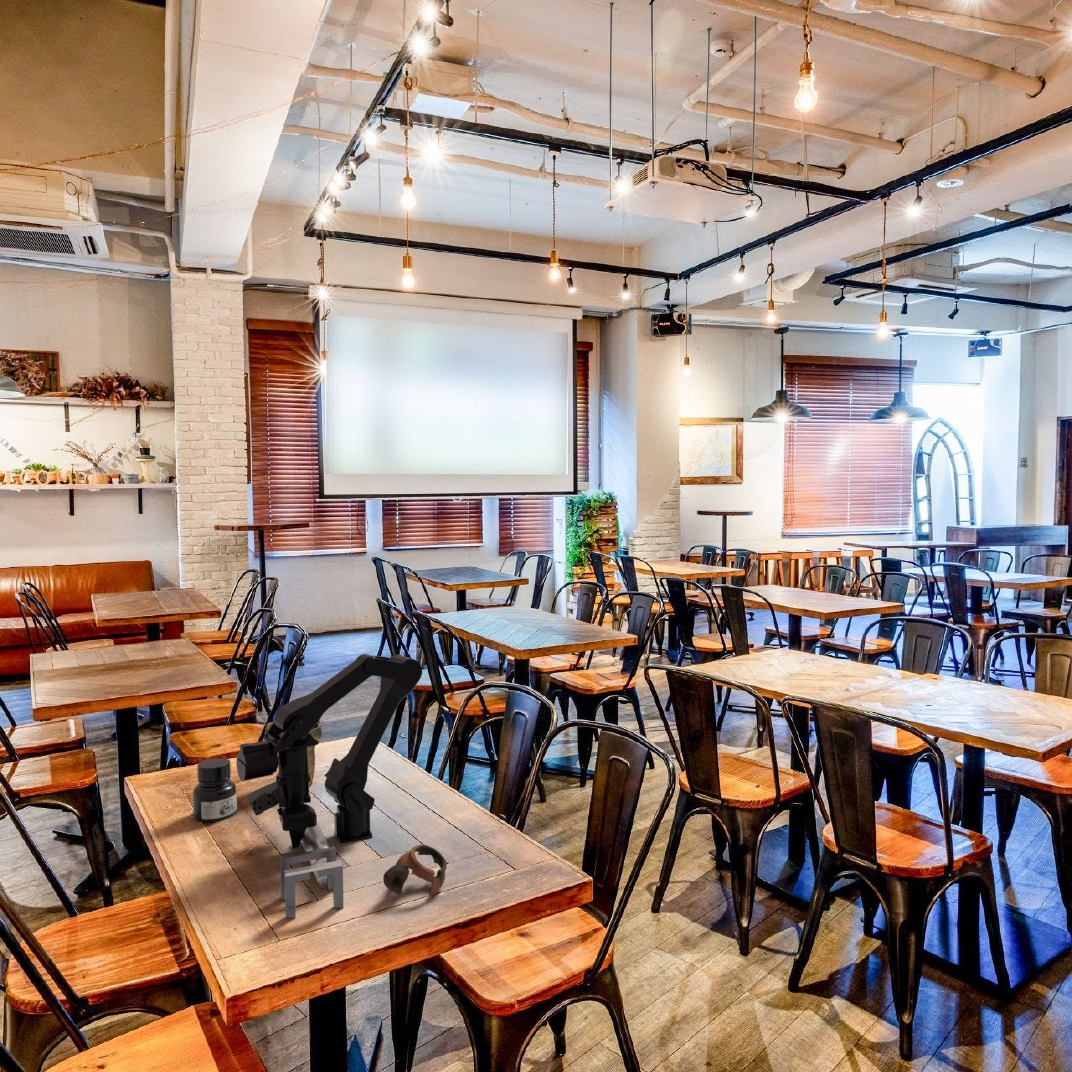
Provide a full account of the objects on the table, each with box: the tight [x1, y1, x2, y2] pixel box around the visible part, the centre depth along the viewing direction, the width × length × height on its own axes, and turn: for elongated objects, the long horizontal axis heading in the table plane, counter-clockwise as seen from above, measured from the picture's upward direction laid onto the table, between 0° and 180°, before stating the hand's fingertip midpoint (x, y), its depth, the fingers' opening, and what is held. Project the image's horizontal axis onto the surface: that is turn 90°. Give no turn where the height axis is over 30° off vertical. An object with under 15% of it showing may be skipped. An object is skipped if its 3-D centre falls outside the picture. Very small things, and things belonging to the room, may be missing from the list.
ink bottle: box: [192, 757, 238, 824], centre depth 178 cm, size 10×9×12 cm
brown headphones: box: [383, 844, 448, 897], centre depth 143 cm, size 12×9×8 cm
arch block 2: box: [284, 859, 344, 921], centre depth 136 cm, size 9×1×8 cm, turn 114°
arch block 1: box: [279, 846, 337, 902], centre depth 143 cm, size 9×1×8 cm, turn 114°
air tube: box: [300, 822, 338, 890], centre depth 155 cm, size 22×4×4 cm
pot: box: [264, 719, 323, 788], centre depth 194 cm, size 17×11×18 cm, turn 150°
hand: (295, 847), depth 160 cm, fingers closed
